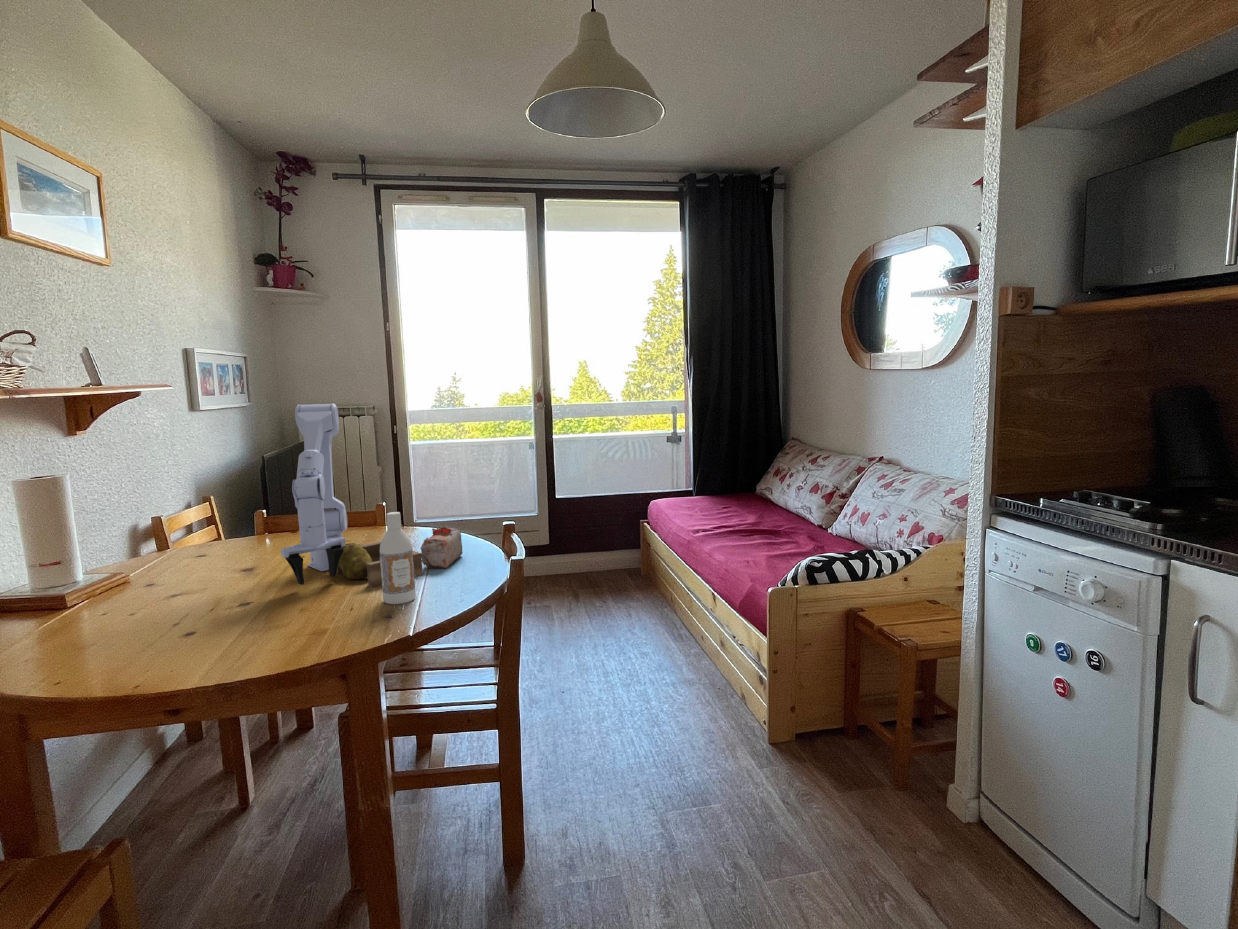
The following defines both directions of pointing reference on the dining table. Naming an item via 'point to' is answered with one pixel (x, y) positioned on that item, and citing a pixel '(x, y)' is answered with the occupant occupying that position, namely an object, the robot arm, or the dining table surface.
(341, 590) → the dining table surface
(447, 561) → the food item
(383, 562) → the bath foam
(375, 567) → the cradle
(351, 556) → the potato
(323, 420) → the robot arm
